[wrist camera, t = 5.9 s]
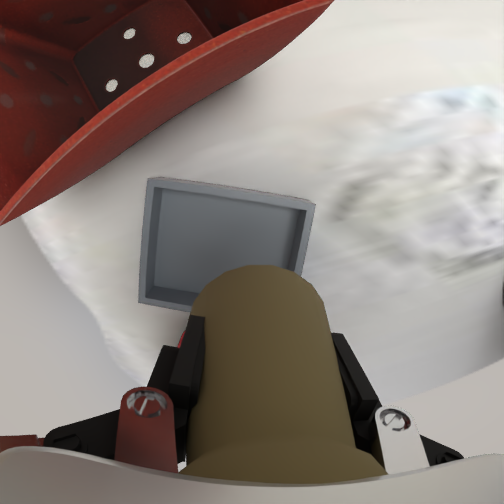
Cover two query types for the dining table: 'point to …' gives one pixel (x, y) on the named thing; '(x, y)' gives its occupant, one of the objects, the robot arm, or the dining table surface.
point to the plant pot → (116, 77)
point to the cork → (270, 386)
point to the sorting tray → (214, 236)
